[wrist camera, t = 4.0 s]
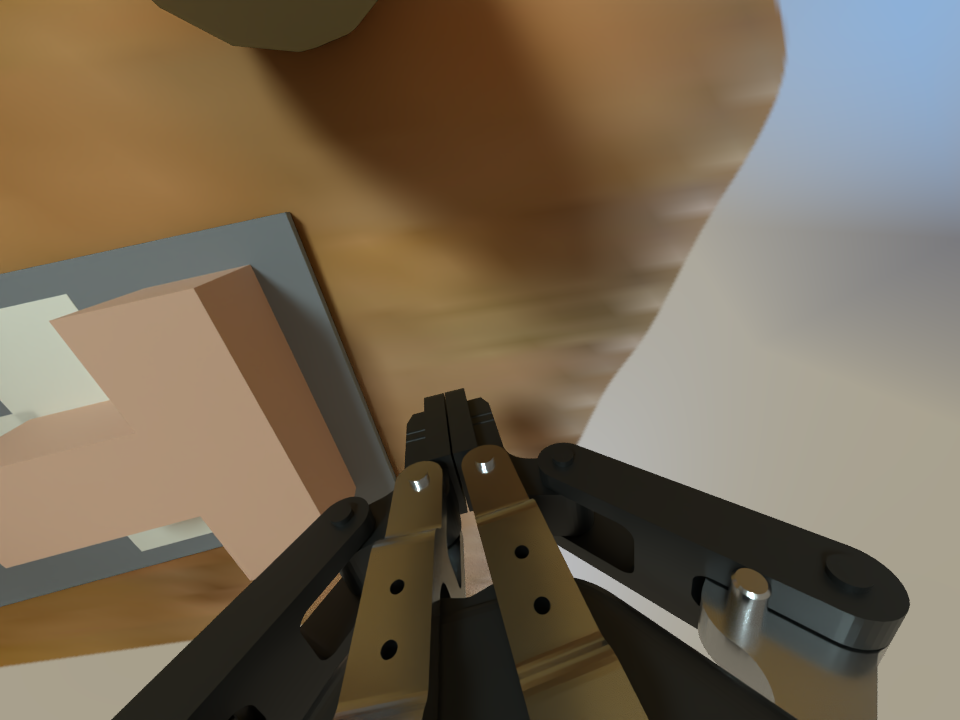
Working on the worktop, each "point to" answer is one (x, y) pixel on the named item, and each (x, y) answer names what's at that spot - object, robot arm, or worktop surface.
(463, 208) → the worktop surface
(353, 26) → the squeeze bottle
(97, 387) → the mat
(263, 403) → the T-block
